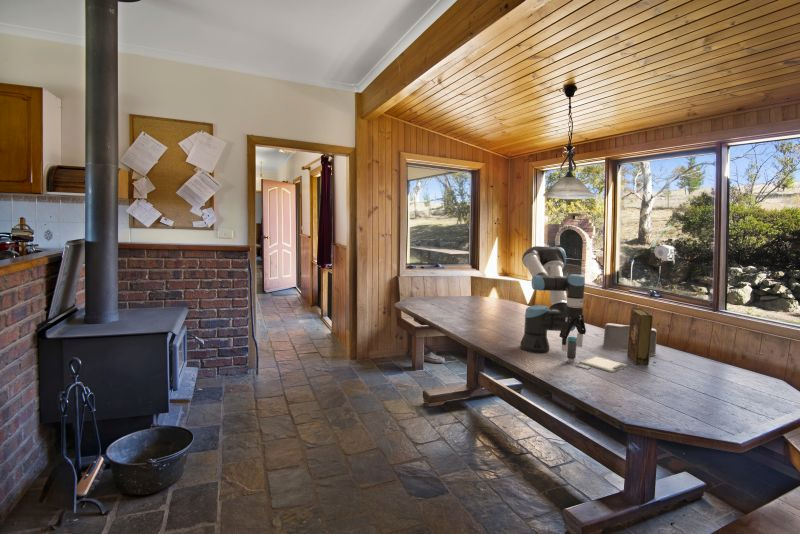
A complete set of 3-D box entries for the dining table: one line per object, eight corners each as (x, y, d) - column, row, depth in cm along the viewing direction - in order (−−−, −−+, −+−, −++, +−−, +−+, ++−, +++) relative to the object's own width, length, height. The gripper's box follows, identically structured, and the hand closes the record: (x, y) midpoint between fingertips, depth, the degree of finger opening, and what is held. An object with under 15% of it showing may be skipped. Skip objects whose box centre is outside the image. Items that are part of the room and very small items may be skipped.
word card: (575, 365, 215) (575, 365, 215) (579, 364, 218) (579, 363, 217) (587, 369, 210) (587, 368, 210) (591, 367, 213) (591, 366, 213)
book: (626, 355, 234) (630, 308, 231) (637, 356, 233) (641, 308, 230) (636, 365, 218) (640, 314, 215) (648, 366, 217) (653, 315, 214)
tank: (654, 348, 248) (656, 326, 246) (655, 356, 234) (657, 332, 232) (605, 341, 259) (606, 320, 258) (602, 348, 245) (604, 326, 244)
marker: (564, 361, 222) (566, 337, 221) (569, 359, 225) (570, 336, 223) (572, 363, 219) (574, 339, 217) (577, 361, 221) (578, 337, 220)
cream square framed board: (579, 363, 219) (579, 360, 219) (595, 357, 229) (595, 354, 228) (612, 372, 207) (612, 369, 207) (627, 366, 216) (627, 363, 216)
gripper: (567, 310, 208) (565, 355, 210) (595, 305, 223) (592, 346, 225) (553, 307, 214) (550, 351, 216) (580, 302, 229) (578, 343, 231)
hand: (572, 349), depth 221 cm, fingers open, 13 cm apart
